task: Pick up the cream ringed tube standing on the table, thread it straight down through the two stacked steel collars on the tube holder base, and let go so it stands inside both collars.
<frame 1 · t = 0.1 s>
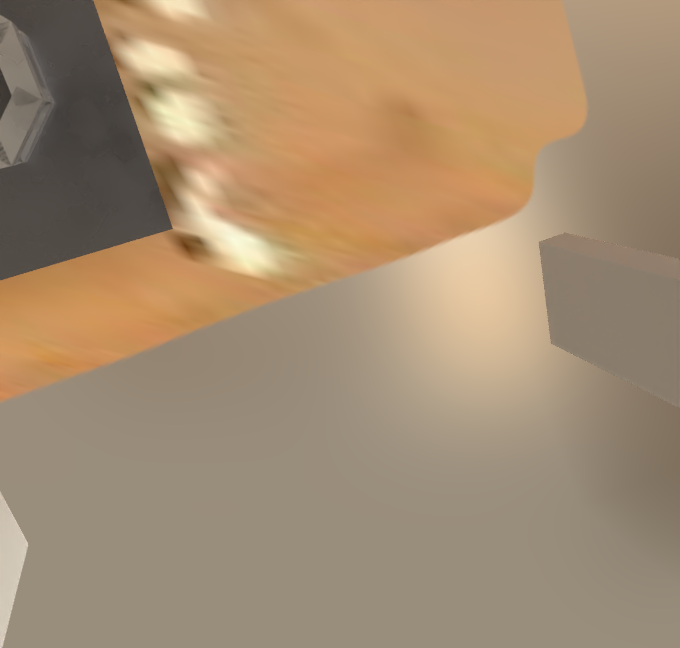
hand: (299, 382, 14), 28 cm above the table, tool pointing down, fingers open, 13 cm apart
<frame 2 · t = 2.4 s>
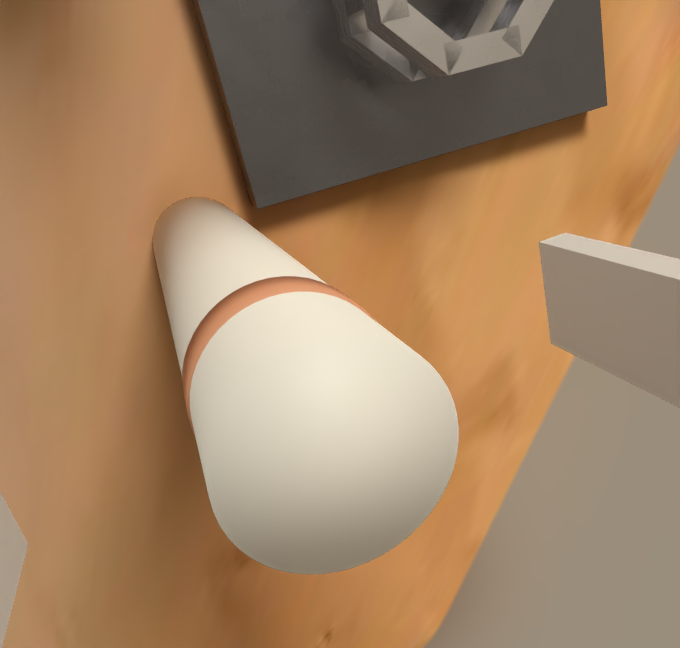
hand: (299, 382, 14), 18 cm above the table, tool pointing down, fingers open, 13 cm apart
cream ringed tube: (199, 242, 30), on the table
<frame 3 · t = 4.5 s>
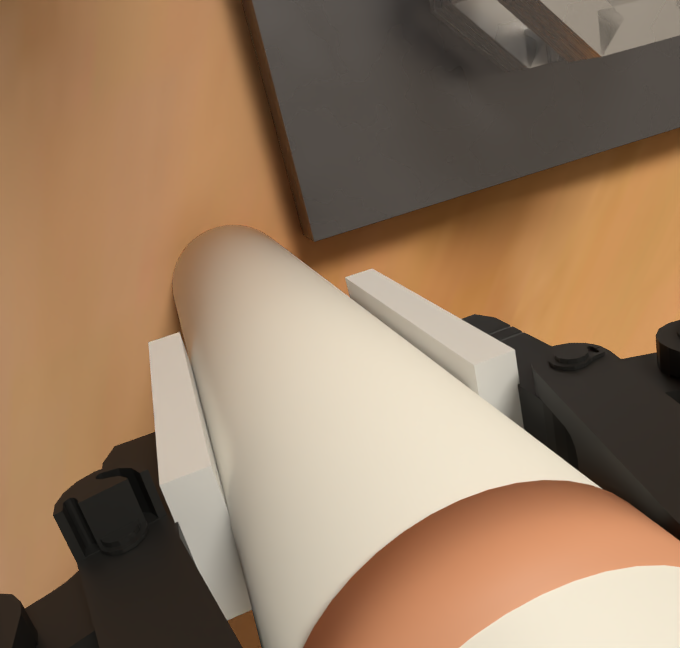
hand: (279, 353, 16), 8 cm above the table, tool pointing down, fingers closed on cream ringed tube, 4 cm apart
cream ringed tube: (234, 284, 23), on the table, touching gripper
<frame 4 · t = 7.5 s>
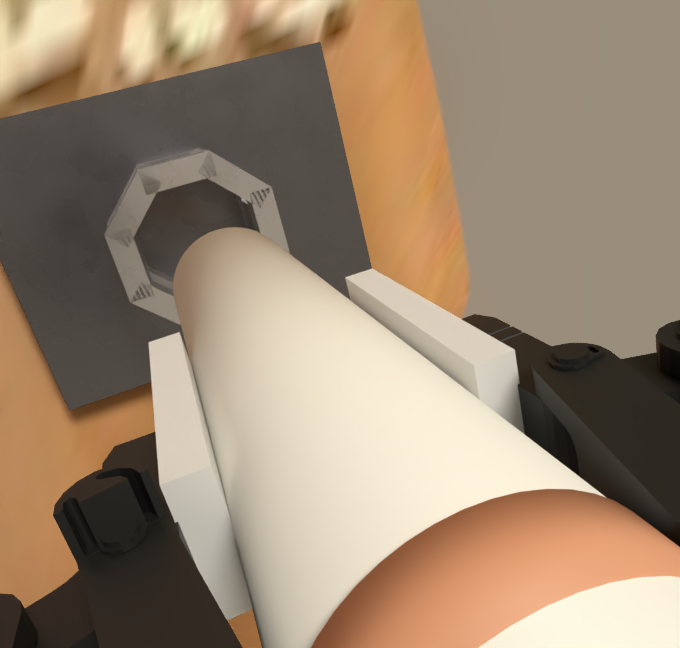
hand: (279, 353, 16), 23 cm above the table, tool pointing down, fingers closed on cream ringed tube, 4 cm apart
cream ringed tube: (234, 287, 23), point 16 cm above the table, touching gripper
tube holder base: (189, 226, 37), on the table
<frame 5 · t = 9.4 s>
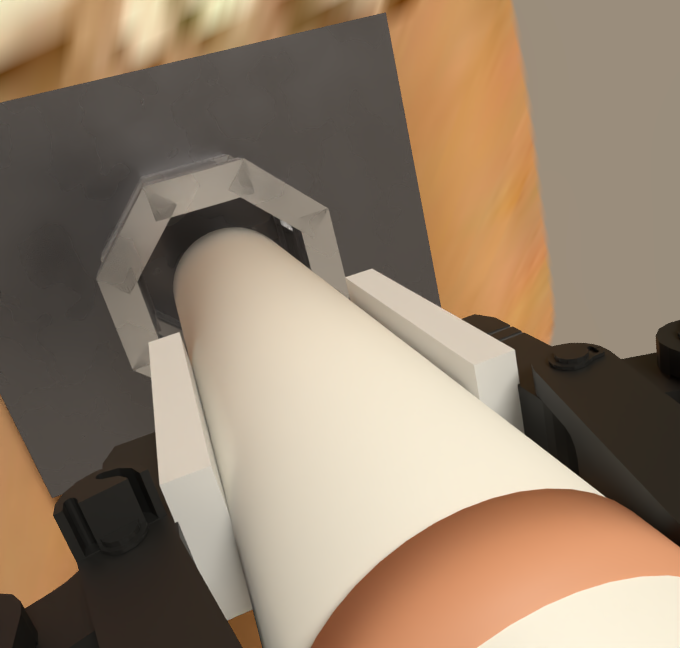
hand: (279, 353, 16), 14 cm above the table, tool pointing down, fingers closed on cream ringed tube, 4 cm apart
cream ringed tube: (234, 287, 23), point 6 cm above the table, touching gripper
tube holder base: (210, 255, 28), on the table
when the fingers open (10 cm above the table, at t = 10.8 s): cream ringed tube stays where it is, resting on tube holder base.
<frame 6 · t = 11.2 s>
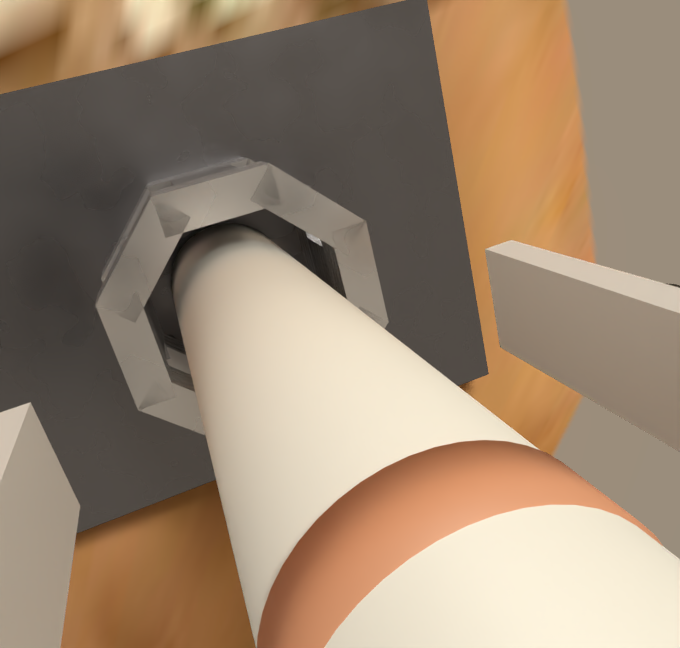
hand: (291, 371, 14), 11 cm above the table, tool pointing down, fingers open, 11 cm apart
cream ringed tube: (229, 281, 24), point 2 cm above the table, touching tube holder base
tube holder base: (224, 271, 25), on the table
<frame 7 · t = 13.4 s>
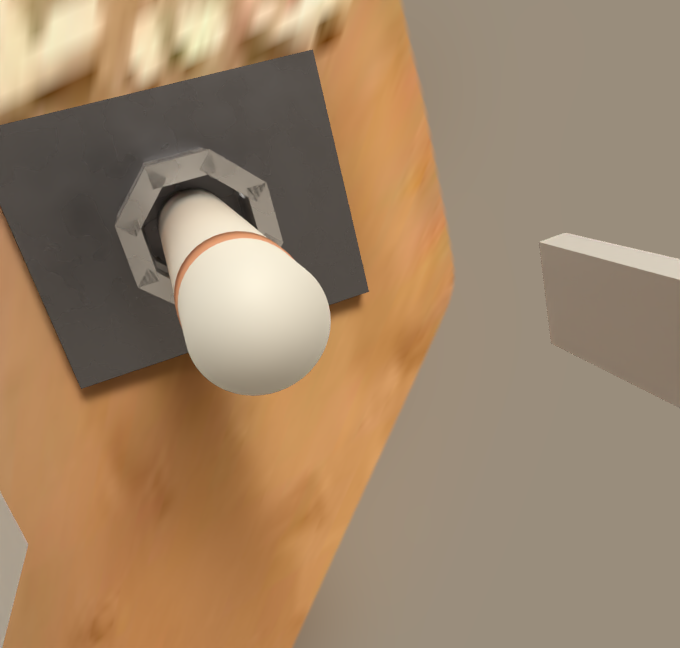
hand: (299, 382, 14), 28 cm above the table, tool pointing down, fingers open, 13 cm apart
cream ringed tube: (194, 223, 38), point 2 cm above the table, touching tube holder base
tube holder base: (192, 219, 40), on the table
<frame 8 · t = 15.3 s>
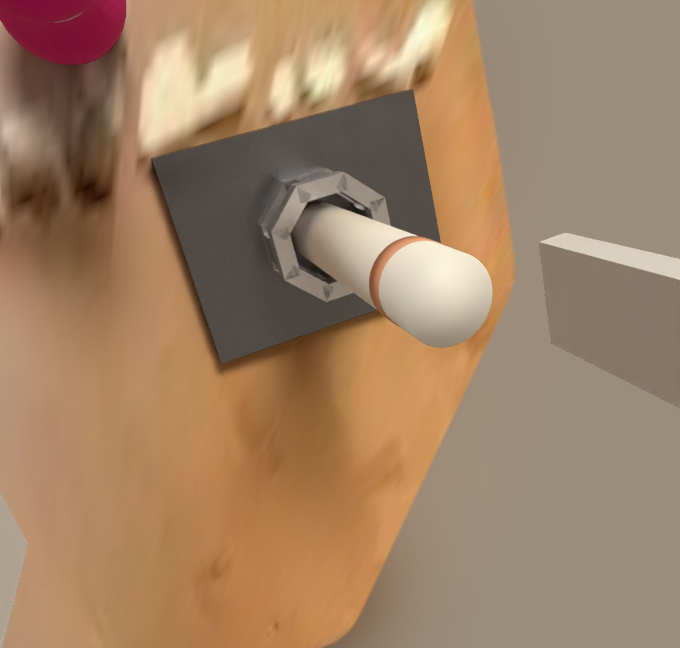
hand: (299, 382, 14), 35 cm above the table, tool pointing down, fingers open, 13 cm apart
pepper mill: (67, 11, 40), on the table
cream ringed tube: (315, 229, 47), point 2 cm above the table, touching tube holder base
tube holder base: (310, 225, 49), on the table
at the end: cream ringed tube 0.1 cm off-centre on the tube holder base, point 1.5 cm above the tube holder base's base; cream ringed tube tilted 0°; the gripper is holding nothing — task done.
